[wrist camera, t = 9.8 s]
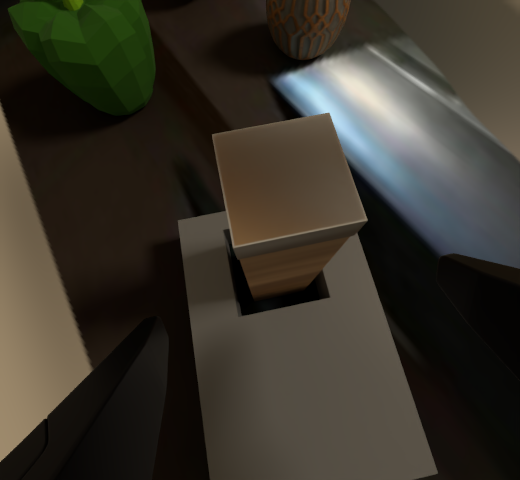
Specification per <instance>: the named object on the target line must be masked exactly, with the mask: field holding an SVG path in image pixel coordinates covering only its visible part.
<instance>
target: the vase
mask: <svg viewBox="0 0 520 480" xmlns="http://www.w3.org/2000/svg"><path fill="white" fill-rule="evenodd" d="M349 5H350V0H266V14H267V22H268V27H269V30H270V33H271V36H272V38H273V41H274V42H275V44H276V45H277V46H278V48H279V49H280V50H281V51H282V52H283V53H285V54H286V55H287V56H289V57H291V58H293V59H297V60H309V59H312V58H315V57H317V56H319V55H321V54H322V53H324V52H325V51H326V50H327V49H329V48H330V47H331V46H332V44H333V43H334V42H335V40H336V39H337V37H338V35H339V34H340V32H341V30H342V28H343V26H344V23H345V20H346V17H347V14H348V10H349Z"/></svg>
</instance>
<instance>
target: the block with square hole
mask: <svg viewBox="0 0 520 480" xmlns="http://www.w3.org/2000/svg"><path fill="white" fill-rule="evenodd" d="M178 226H179V234H180V242H181V250H182V258H183V266H184V274H185V282H186V290H187V298H188V306H189V314H190V322H191V330H192V339H193V347H194V355H195V363H196V371H197V379H198V387H199V395H200V403H201V411H202V419H203V427H204V435H205V444H206V452H207V460H208V468H209V476H210V480H414V479H418V478H422V477H426V476H430V475H434V474H438V472H437V469H436V466H435V463H434V460H433V457H432V454H431V451H430V448H429V445H428V442H427V439H426V436H425V433H424V430H423V427H422V424H421V421H420V418H419V415H418V412H417V409H416V406H415V404H414V401H413V398H412V395H411V392H410V389H409V386H408V383H407V380H406V377H405V374H404V371H403V368H402V365H401V362H400V359H399V356H398V353H397V350H396V347H395V344H394V341H393V338H392V335H391V332H390V329H389V326H388V323H387V320H386V317H385V314H384V311H383V308H382V305H381V302H380V299H379V296H378V294H377V291H376V288H375V285H374V282H373V279H372V276H371V273H370V270H369V267H368V264H367V261H366V258H365V255H364V252H363V249H362V246H361V243H360V240H359V237H358V234H357V233H356V234H355V235H354V236H350V237H349V239H348V240H347V241H346V242H345V243H344V244H343V246H342V247H341V248H340V249H339V250H338V251H337V253H336V254H335V255H334V256H333V257H332V258H331V260H330V261H329V262H328V263H327V264H326V265H325V267H324V268H323V269H322V270H321V271H320V272H319V274H318V275H317V276H316V277H315V278H314V279H315V282H316V286H317V290H318V293H319V297H320V300H317V301H312V302H307V303H303V304H298V305H293V306H289V307H284V308H279V309H275V310H270V311H265V312H261V313H256V314H251V315H247V316H242V315H241V310H240V304H239V298H238V293H237V287H236V282H235V276H234V271H233V265H232V260H231V254H230V249H229V244H232V239H231V234H230V228H229V223H228V218H227V212H226V211H224V212H219V213H214V214H209V215H204V216H199V217H194V218H189V219H183V220H178Z"/></svg>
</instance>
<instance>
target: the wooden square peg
mask: <svg viewBox="0 0 520 480" xmlns="http://www.w3.org/2000/svg"><path fill="white" fill-rule="evenodd" d="M212 138H213V143H214V148H215V154H216V159H217V164H218V170H219V175H220V180H221V186H222V191H223V196H224V202H225V207H226V212H227V218H228V223H229V228H230V234H231V239H232V245H233V249H234V252H235V254H236V257H237V260H239V259H240V262H241V265H242V268H243V271H244V274H245V276H246V279H247V282H248V285H249V288H250V291H251V293H252V296H253V299H254V302H255V301H259V300H264V299H269V298H273V297H278V296H283V295H287V294H292V293H297V292H301V291H304V290H305V289H306V288H307V286H308V285H309V284H310V283H311V282H312V281H313V279H314V278H315V277H316V276H317V275H318V274H319V272H320V271H321V270H322V269H323V268H324V267H325V265H326V264H327V263H328V262H329V261H330V260H331V258H332V257H333V256H334V255H335V254H336V253H337V251H338V250H339V249H340V248H341V247H342V246H343V244H344V243H345V242H346V241H347V240H348V239H349V237H350V236H354V235H355V234H356V233H357V232H358V231H359V230H360V229H361V227H362V226H363V225H364V224H365V223H366V222H367V221H368V220H367V217H366V215H365V212H364V209H363V206H362V203H361V201H360V198H359V195H358V192H357V189H356V187H355V184H354V181H353V178H352V175H351V172H350V170H349V167H348V164H347V161H346V158H345V156H344V153H343V150H342V147H341V144H340V142H339V139H338V136H337V133H336V130H335V127H334V125H333V122H332V119H331V116H330V113H325V114H320V115H315V116H309V117H304V118H298V119H293V120H288V121H282V122H277V123H271V124H266V125H261V126H255V127H250V128H245V129H239V130H234V131H228V132H223V133H218V134H212Z"/></svg>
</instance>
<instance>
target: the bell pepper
mask: <svg viewBox="0 0 520 480" xmlns="http://www.w3.org/2000/svg"><path fill="white" fill-rule="evenodd" d="M8 11H9V14H10V17H11V20H12V23H13V26H14V29H15V30H16V32H17V33H18V35H19V36H20V38H21V39H22V41H23V42H24V44H25V45H26V47H27V48H28V50H29V51H30V52H31V53H32V54H33V55H34V56H35V58H36V59H37V60H38V61H39V62H40V63H41V65H42V66H43V67H44V68H45V69H46V70H47V72H48V73H49V74H51V75H52V76H53V77H54V78H55V79H57V80H58V81H59V82H60V83H61V84H63V85H64V86H65V87H66V88H68V89H69V90H70V91H71V92H73V93H74V94H75V95H77V96H78V97H80V98H81V99H82V100H84V101H85V102H87V103H90V104H91V105H92V106H94V107H95V108H96V109H98V110H100V111H103V112H106V113H108V114H111V115H114V116H121V115H129V114H133V113H135V112H136V111H138V110H140V109H141V108H143V107H145V106H146V104H147V102H148V101H149V99H150V98H151V96H152V92H153V87H152V86H153V83H154V79H155V59H154V51H153V45H152V39H151V33H150V28H149V22H148V19H147V16H146V14H145V11H144V8H143V5H142V2H141V0H21V1H20V3H19V4H17V5H14V6H12V7H10V8H8Z"/></svg>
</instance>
